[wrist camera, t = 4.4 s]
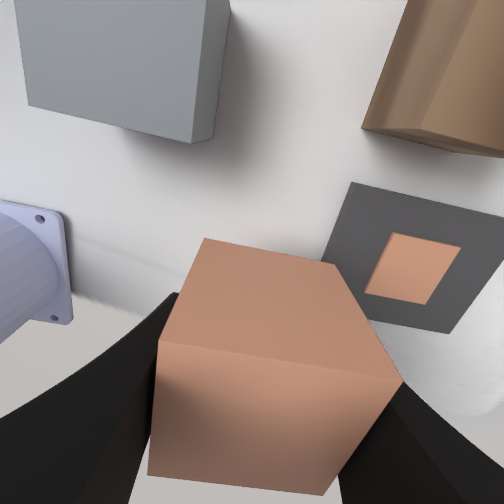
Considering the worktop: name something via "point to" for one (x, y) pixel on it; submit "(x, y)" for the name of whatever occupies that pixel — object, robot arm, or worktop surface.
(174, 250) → the worktop surface
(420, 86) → the walnut block
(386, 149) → the worktop surface
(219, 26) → the slate block
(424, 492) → the robot arm
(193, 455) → the terracotta block
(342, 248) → the board
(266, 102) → the worktop surface
